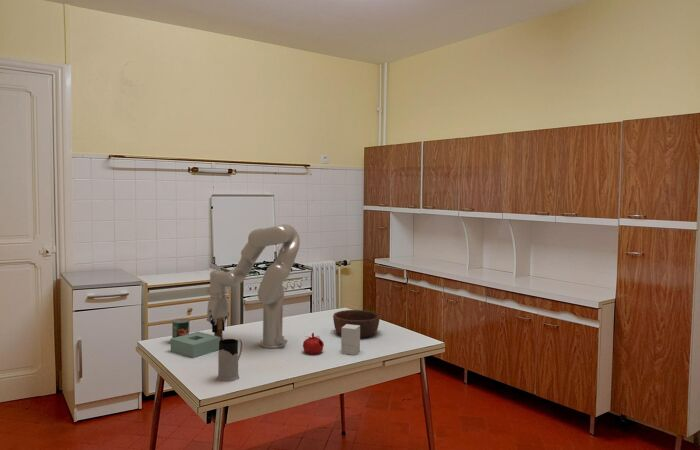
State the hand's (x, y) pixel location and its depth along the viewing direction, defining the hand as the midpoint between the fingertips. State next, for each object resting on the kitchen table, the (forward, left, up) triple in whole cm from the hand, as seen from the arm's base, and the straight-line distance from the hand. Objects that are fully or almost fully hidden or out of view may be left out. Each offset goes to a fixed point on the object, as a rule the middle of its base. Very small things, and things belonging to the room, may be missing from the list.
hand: (218, 331), depth 267 cm
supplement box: (-63, -26, -5) cm, 68 cm away
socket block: (-4, +17, -5) cm, 18 cm away
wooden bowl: (-47, -55, -5) cm, 72 cm away
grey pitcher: (-42, +30, -5) cm, 52 cm away
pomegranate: (-49, -15, -5) cm, 51 cm away
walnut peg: (0, 0, -5) cm, 5 cm away
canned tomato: (+12, +13, -5) cm, 19 cm away
